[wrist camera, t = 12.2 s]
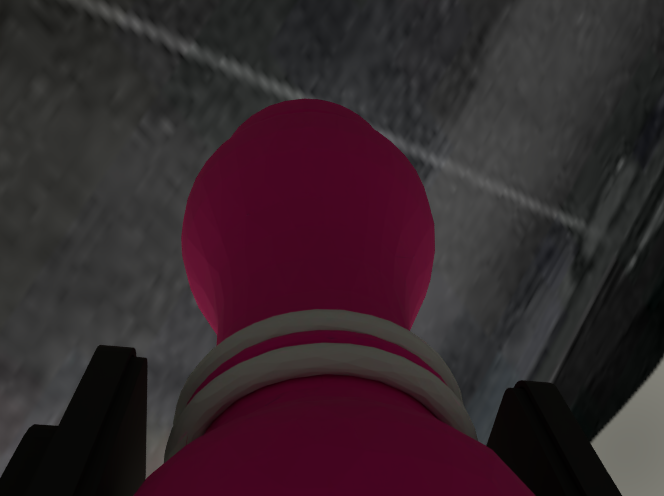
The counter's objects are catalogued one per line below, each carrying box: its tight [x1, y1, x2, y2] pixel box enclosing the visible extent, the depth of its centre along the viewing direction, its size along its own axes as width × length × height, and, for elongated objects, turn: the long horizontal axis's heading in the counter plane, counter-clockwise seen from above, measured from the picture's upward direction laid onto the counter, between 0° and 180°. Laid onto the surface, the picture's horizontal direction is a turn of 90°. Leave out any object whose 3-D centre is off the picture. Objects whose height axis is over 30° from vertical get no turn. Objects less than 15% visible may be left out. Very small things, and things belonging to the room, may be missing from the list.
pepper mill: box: [133, 99, 536, 496], centre depth 13 cm, size 7×7×20 cm
